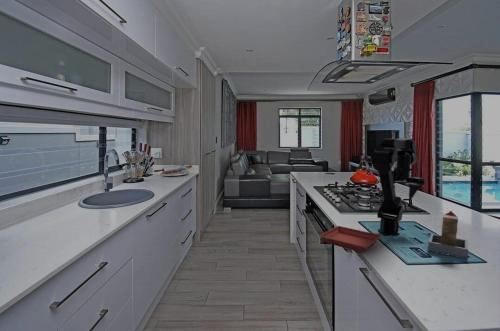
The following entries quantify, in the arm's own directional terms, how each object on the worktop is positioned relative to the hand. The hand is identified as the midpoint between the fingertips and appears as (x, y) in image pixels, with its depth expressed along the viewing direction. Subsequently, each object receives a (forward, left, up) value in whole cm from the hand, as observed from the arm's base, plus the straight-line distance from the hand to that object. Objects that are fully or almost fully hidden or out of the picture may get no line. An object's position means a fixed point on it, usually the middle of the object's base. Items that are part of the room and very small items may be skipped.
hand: (400, 199), depth 134 cm
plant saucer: (-32, -18, -14) cm, 39 cm away
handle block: (+1, -28, -12) cm, 31 cm away
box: (+1, -28, -13) cm, 31 cm away
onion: (+24, -2, -13) cm, 27 cm away
